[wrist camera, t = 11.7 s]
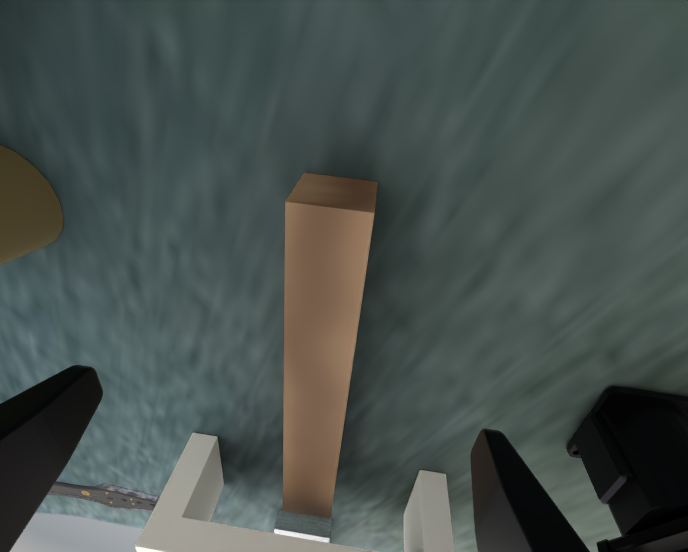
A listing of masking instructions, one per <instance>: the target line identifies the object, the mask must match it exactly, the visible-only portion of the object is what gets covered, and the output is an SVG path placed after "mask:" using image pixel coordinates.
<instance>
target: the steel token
mask: <svg viewBox="0 0 688 552" xmlns="http://www.w3.org/2000/svg"><path fill="white" fill-rule="evenodd" d="M331 524H332V519H329V518H323V517H317V516H311V515H305V514H299V513H293V512H287V511H283V510H279V511H278V515H277V519H276V523H275V527H274V533H275V534H280V535H286V536H292V537H298V538H303V539H309V540H315V541H321V542H326V543H329V540H330V532H331Z"/></svg>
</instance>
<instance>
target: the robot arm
mask: <svg viewBox="0 0 688 552" xmlns="http://www.w3.org/2000/svg"><path fill="white" fill-rule="evenodd" d="M102 395H103V390H102V387H101V384H100V381H99V378H98V376H97V373H96V371H95V369H94V368H92V367H88V366H82V365H74V366H71V367H69V368H67V369H65V370H63V371H61V372H59V373H58V374H56V375H54V376H52V377H50V378H48V379H46V380H44V381H42V382H41V383H39V384H37V385H35V386H33V387H31V388H29V389H27V390H25V391H24V392H22V393H20V394H18V395H16V396H14V397H12V398H10V399H8V400H7V401H5V402H3V403H1V404H0V552H9V551H10V550H11V549H12V547H13V546H14V544H15V543H16V541H17V539H18V538H19V536H20V535H21V533H22V532H23V530H24V529H25V527H26V526H27V524H28V523H29V521H30V520H31V518H32V517H33V515H34V514H35V512H36V511H37V509H38V508H39V506H40V504H41V503H42V501H43V500H44V498H45V497H46V495H47V494H48V492H49V491H50V489H51V488H52V486H53V485H54V483H55V482H56V480H57V479H58V477H59V476H60V474H61V472H62V471H63V469H64V468H65V466H66V464H67V463H68V461H69V459H70V458H71V456H72V454H73V452H74V450H75V449H76V447H77V445H78V443H79V441H80V439H81V437H82V435H83V433H84V432H85V430H86V428H87V426H88V424H89V422H90V420H91V418H92V416H93V415H94V413H95V411H96V409H97V407H98V405H99V403H100V401H101V399H102ZM566 449H567V451H568V453H569V455H570V456H572V457H576V458H581V459H582V461H583V464H584V466H585V468H586V470H587V473H588V475H589V477H590V480H591V482H592V484H593V486H594V489H595V491H596V493H597V496H598V498H599V499H600V501H601V502H602V503H603V504H607V505H608V506H609V508H610V510H611V512H612V515H613V517H614V519H615V521H616V524H617V526H618V528H619V530H620V532H621V535H622V536H621V537H618V538H615V539H612V540H607V539H605V540H602V541H599V542H597V547H598V552H688V397H681V396H675V395H668V394H661V393H655V392H648V391H642V390H635V389H628V388H622V387H610V388H608V389H607V390H605V392H604V393H603V394H602V396H601V397H600V399H599V400H598V402H597V403H596V405H595V406H594V407H593V409H592V410H591V412H590V413H589V415H588V416H587V418H586V419H585V420H584V422H583V423H582V425H581V426H580V428H579V429H578V431H577V432H576V433H575V435H574V436H573V438H572V439H571V441H570V442H569V444H568V445H567V447H566ZM471 474H472V491H473V508H474V523H475V534H476V541H477V548H478V552H590V551H589V550H588V548H587V547H586V546H585V544H584V543H583V541H582V540H581V539H580V537H579V536H578V535H577V533H576V532H575V531H574V529H573V528H572V526H571V525H570V524H569V522H568V521H567V520H566V518H565V517H564V516H563V514H562V513H561V511H560V510H559V509H558V507H557V506H556V505H555V503H554V502H553V501H552V499H551V498H550V497H549V495H548V494H547V492H546V491H545V490H544V488H543V487H542V486H541V484H540V483H539V482H538V480H537V479H536V477H535V476H534V475H533V473H532V472H531V471H530V469H529V468H528V467H527V465H526V464H525V462H524V461H523V460H522V458H521V457H520V456H519V454H518V453H517V452H516V450H515V449H514V447H513V446H512V445H511V443H510V442H509V441H508V439H507V438H506V437H505V435H504V434H503V433H502V432H500V431H498V430H491V429H482V430H481V431H480V433H479V435H478V437H477V440H476V442H475V444H474V446H473V448H472V451H471Z"/></svg>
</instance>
